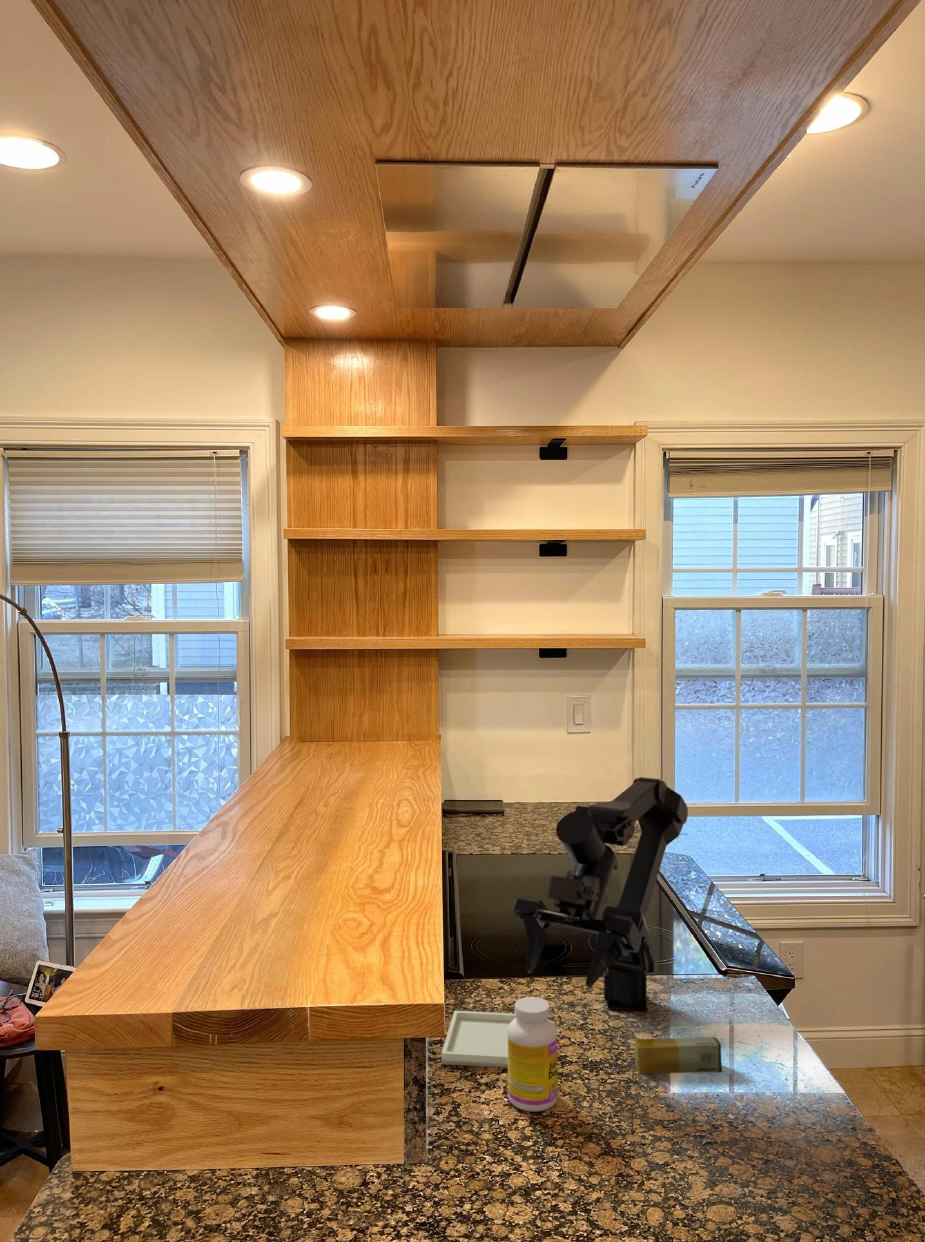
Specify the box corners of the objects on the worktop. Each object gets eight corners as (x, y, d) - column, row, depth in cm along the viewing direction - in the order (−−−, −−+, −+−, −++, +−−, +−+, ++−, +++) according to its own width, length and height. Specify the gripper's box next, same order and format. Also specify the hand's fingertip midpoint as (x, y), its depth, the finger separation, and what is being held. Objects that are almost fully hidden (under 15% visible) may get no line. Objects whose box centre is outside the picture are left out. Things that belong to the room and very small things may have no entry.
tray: (537, 1024, 137) (537, 1014, 137) (532, 1069, 124) (532, 1058, 123) (454, 1020, 138) (454, 1010, 138) (441, 1064, 125) (441, 1053, 125)
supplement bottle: (555, 1116, 112) (554, 1018, 112) (504, 1111, 114) (503, 1014, 113) (559, 1088, 119) (559, 995, 118) (512, 1083, 120) (511, 991, 120)
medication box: (717, 1063, 125) (716, 1035, 125) (723, 1073, 122) (722, 1044, 122) (634, 1065, 125) (633, 1037, 125) (638, 1075, 122) (637, 1046, 122)
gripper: (517, 843, 132) (479, 939, 123) (633, 861, 122) (602, 967, 112) (541, 880, 138) (508, 974, 129) (653, 900, 128) (626, 1004, 119)
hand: (557, 978), depth 122 cm, fingers open, 9 cm apart
